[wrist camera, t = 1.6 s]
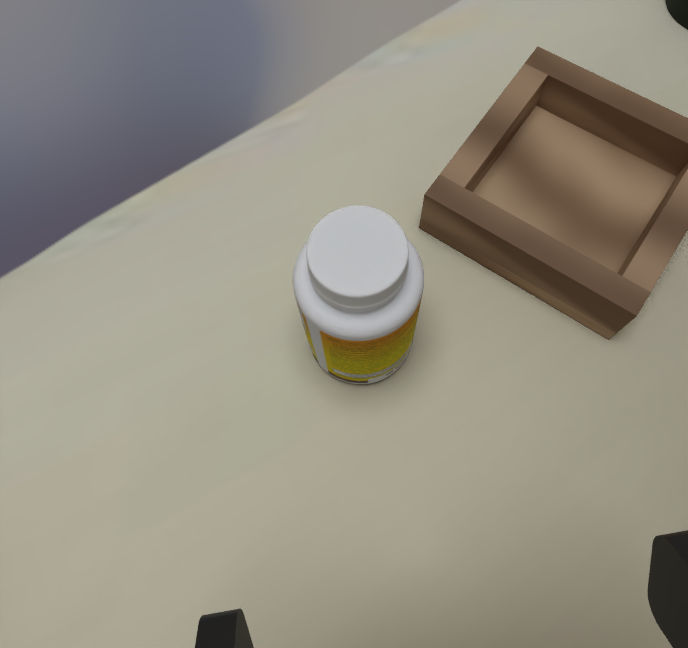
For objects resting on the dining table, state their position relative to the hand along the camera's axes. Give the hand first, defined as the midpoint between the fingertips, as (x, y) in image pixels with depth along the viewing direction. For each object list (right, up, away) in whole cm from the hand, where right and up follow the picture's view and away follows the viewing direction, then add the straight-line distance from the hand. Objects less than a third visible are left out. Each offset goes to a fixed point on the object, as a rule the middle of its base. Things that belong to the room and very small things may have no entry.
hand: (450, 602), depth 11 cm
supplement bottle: (-1, +5, +21) cm, 21 cm away
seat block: (+11, +12, +23) cm, 28 cm away
